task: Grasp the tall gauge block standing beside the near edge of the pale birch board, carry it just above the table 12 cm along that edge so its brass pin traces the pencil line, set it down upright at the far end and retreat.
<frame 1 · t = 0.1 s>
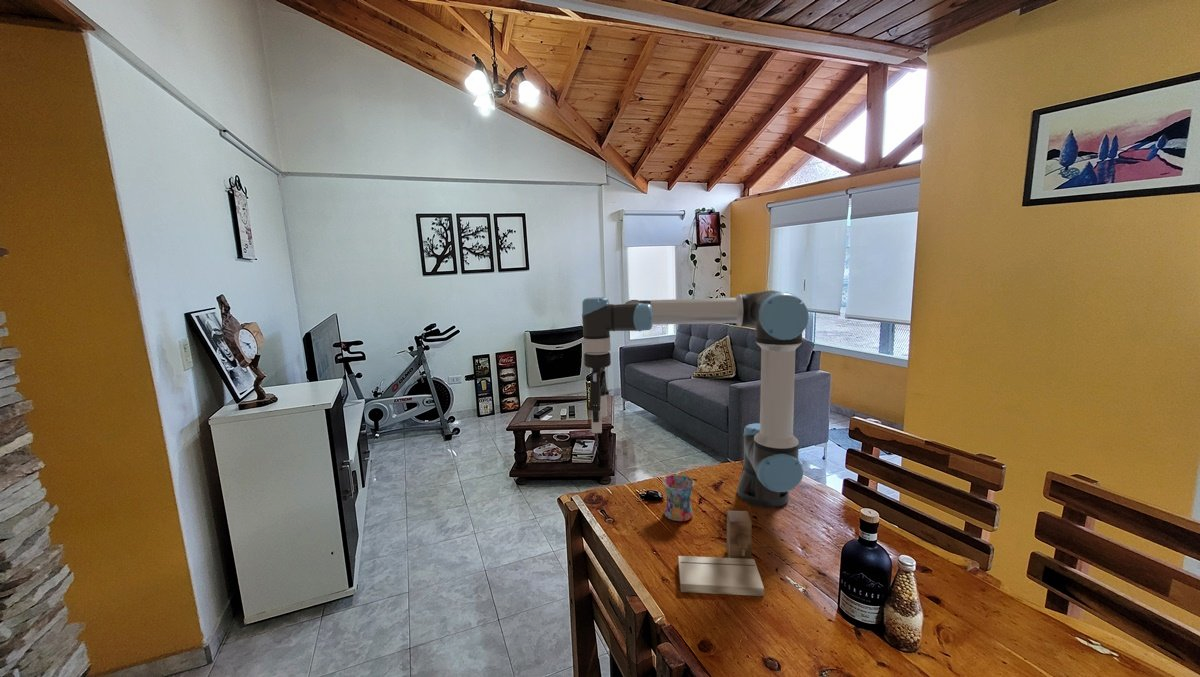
hand: (599, 424, 130), 28 cm above the table, fingers open, 13 cm apart
board: (718, 578, 105), on the table
gauge: (738, 557, 112), on the table
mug: (681, 514, 133), on the table
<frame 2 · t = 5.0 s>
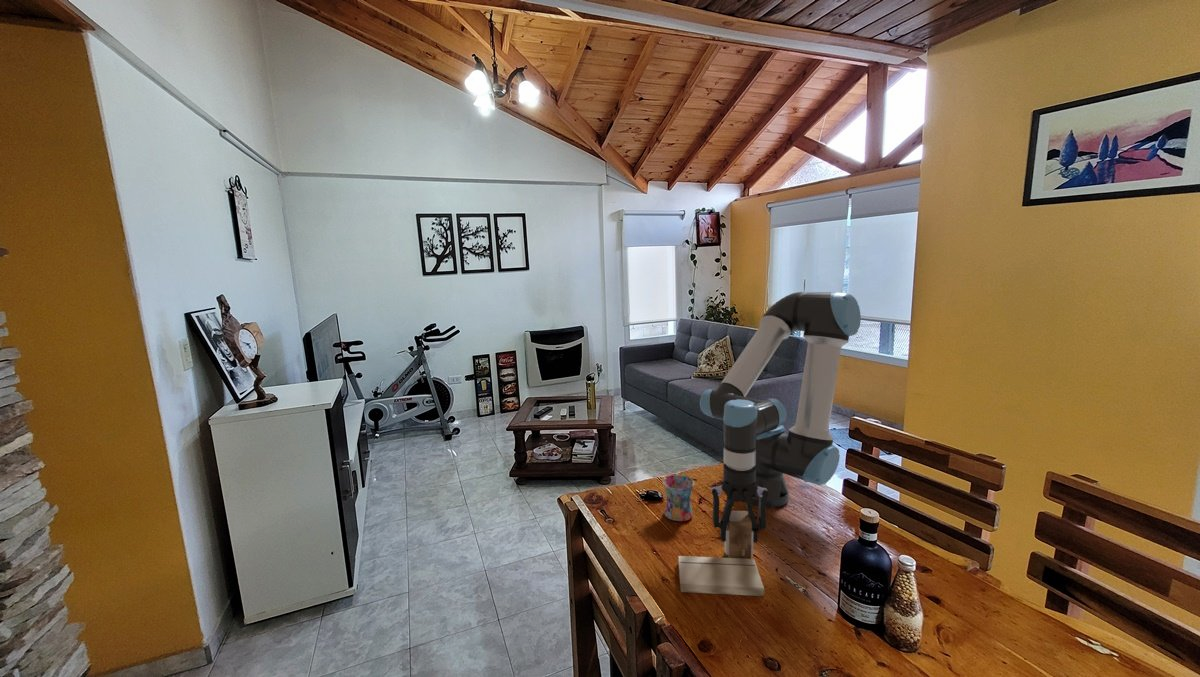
hand: (738, 552, 112), 1 cm above the table, fingers closed on gauge, 5 cm apart
gauge: (738, 556, 112), on the table, touching gripper
everything else where it was.
when the fingers open (2 cm above the table, at t = 9.3 s): gauge stays where it is, on the table.
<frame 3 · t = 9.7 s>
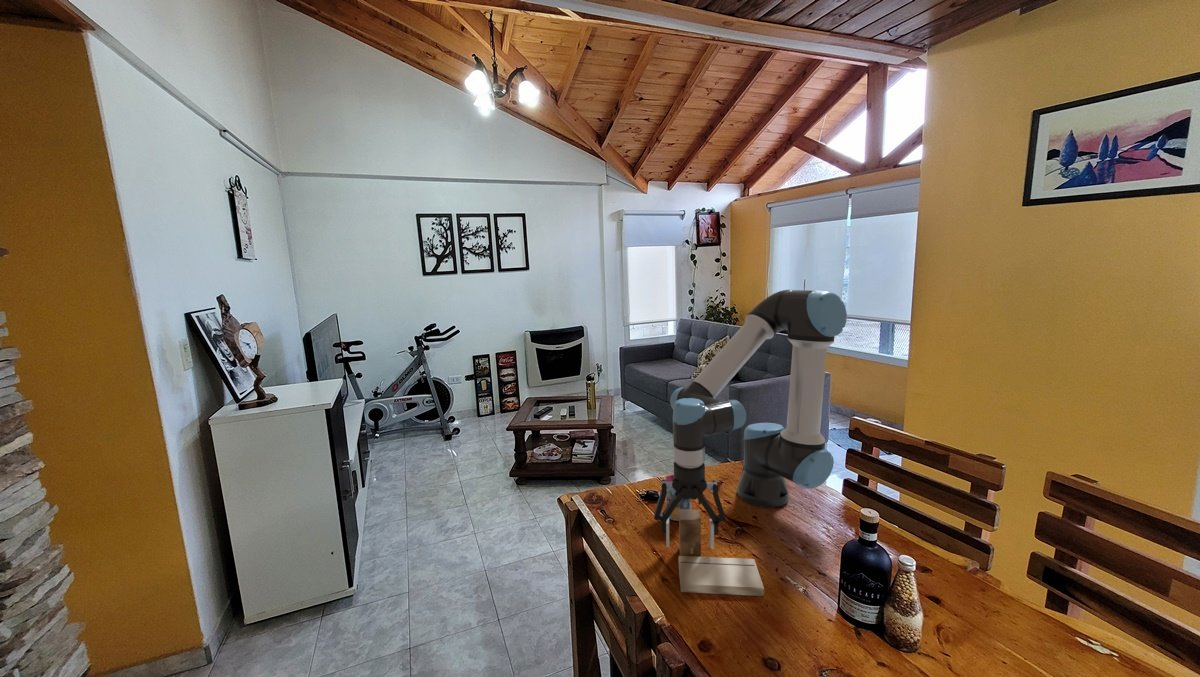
hand: (689, 545, 113), 3 cm above the table, fingers open, 10 cm apart
gauge: (689, 554, 114), on the table
everything else where it was.
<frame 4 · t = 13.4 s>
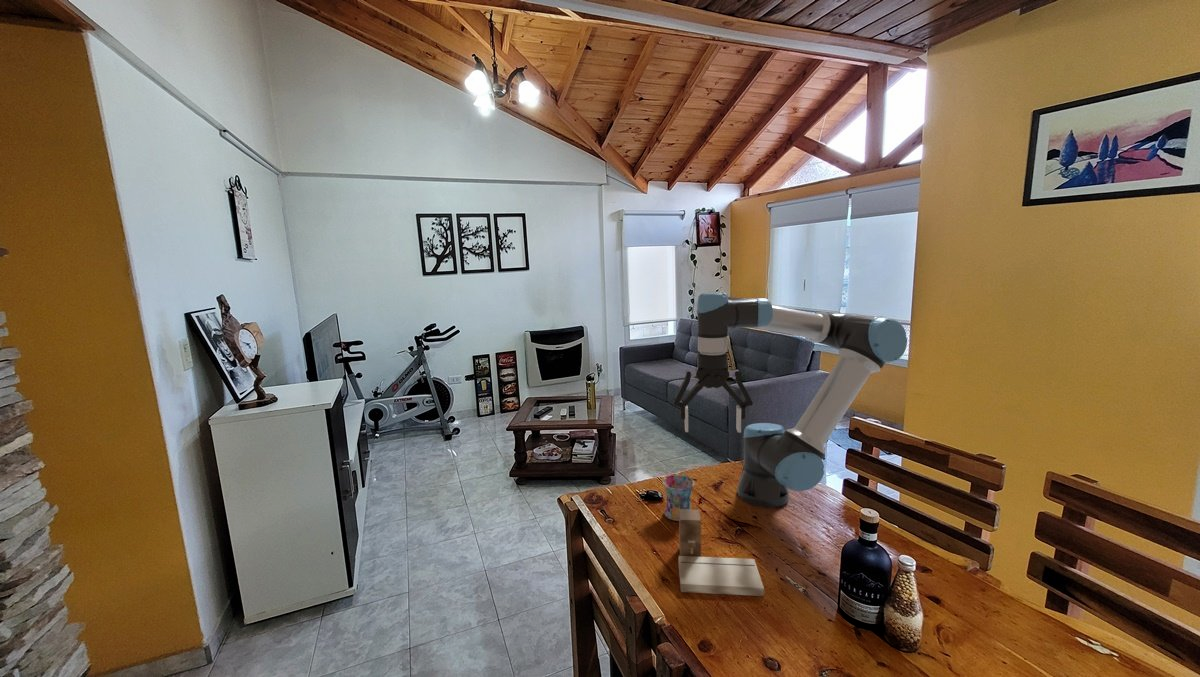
hand: (712, 430, 120), 29 cm above the table, fingers open, 13 cm apart
nothing on the table moved.
at the end: gauge inside the target area (0.2 cm from its centre), on the table; gauge tilted 0°; gauge moved 12.0 cm from its start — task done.
